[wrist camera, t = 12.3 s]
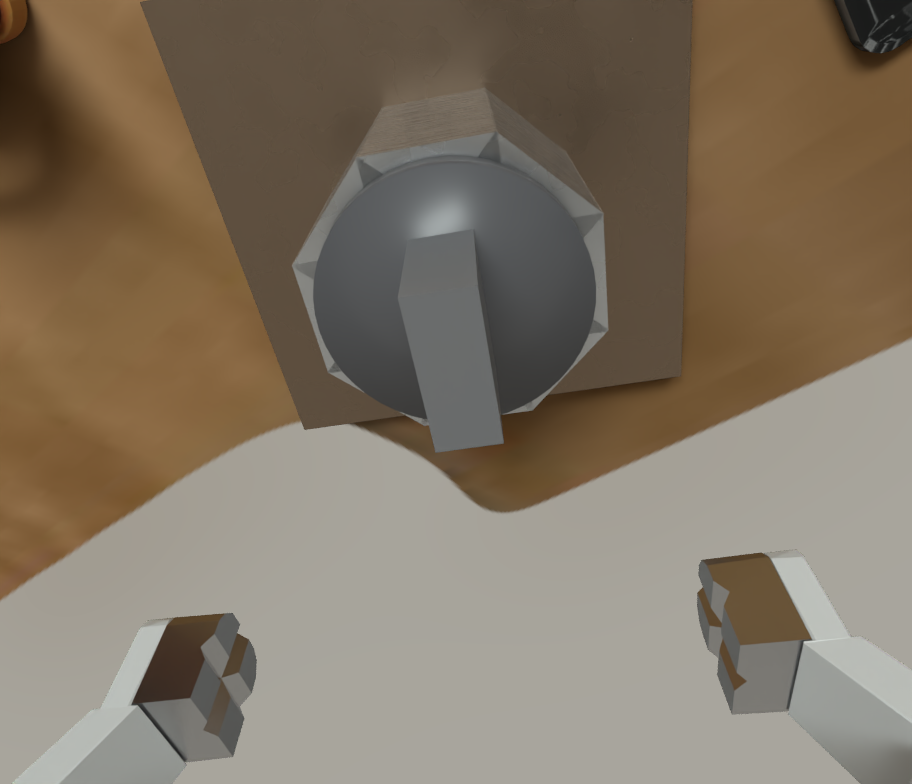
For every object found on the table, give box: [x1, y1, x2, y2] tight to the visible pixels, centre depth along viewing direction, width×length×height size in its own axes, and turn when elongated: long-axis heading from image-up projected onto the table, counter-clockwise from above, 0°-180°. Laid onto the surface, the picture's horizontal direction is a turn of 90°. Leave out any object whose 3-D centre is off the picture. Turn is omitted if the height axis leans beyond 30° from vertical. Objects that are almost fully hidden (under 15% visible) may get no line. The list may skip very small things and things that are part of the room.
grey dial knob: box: [313, 155, 596, 453], centre depth 20 cm, size 9×9×7 cm
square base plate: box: [140, 0, 692, 430], centre depth 25 cm, size 20×20×10 cm
